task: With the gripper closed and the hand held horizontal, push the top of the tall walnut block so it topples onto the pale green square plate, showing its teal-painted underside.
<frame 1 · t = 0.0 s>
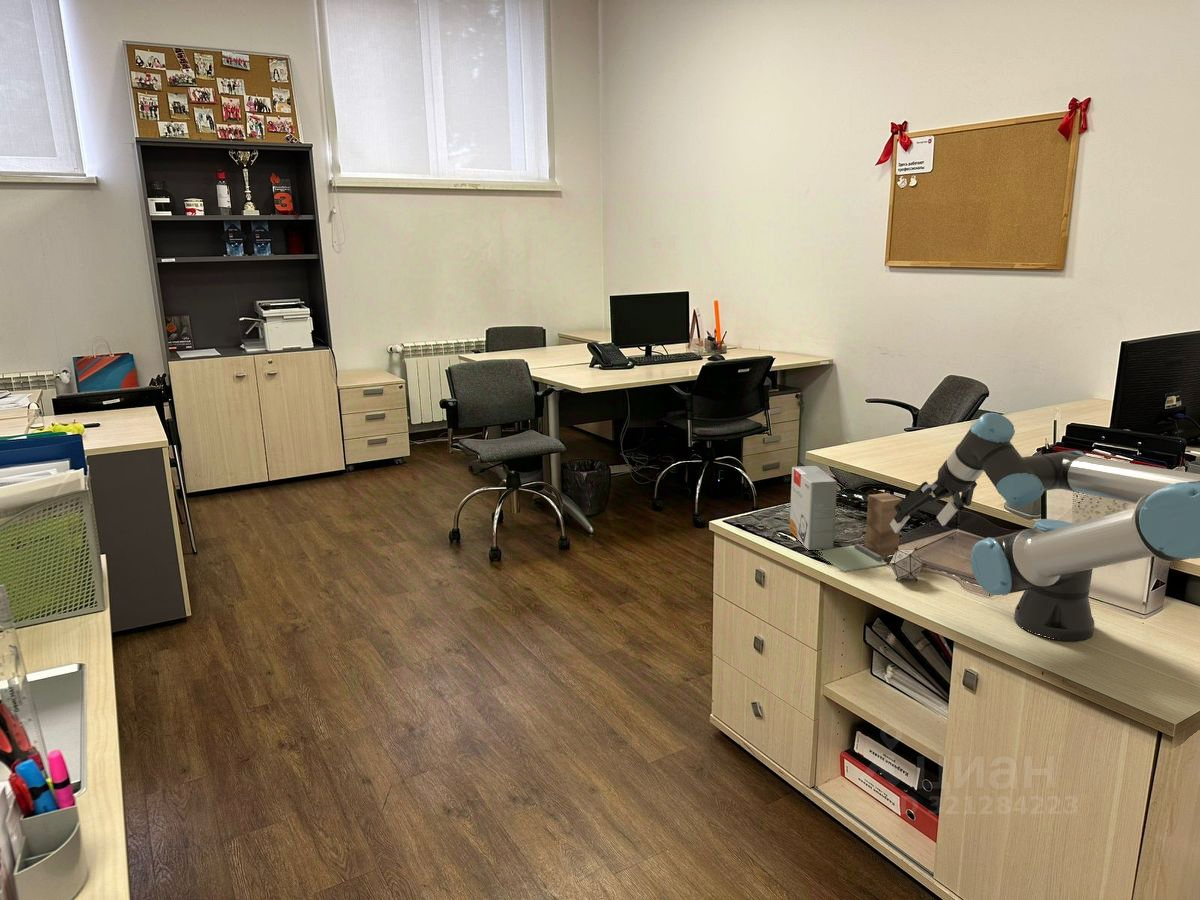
hand: (917, 524, 194), 15 cm above the table, tool tilted 35°, fingers open, 13 cm apart
walnut block: (881, 553, 217), on the table
pale green square plate: (849, 558, 214), on the table
game die: (905, 579, 201), on the table
hard drive box: (810, 541, 228), on the table
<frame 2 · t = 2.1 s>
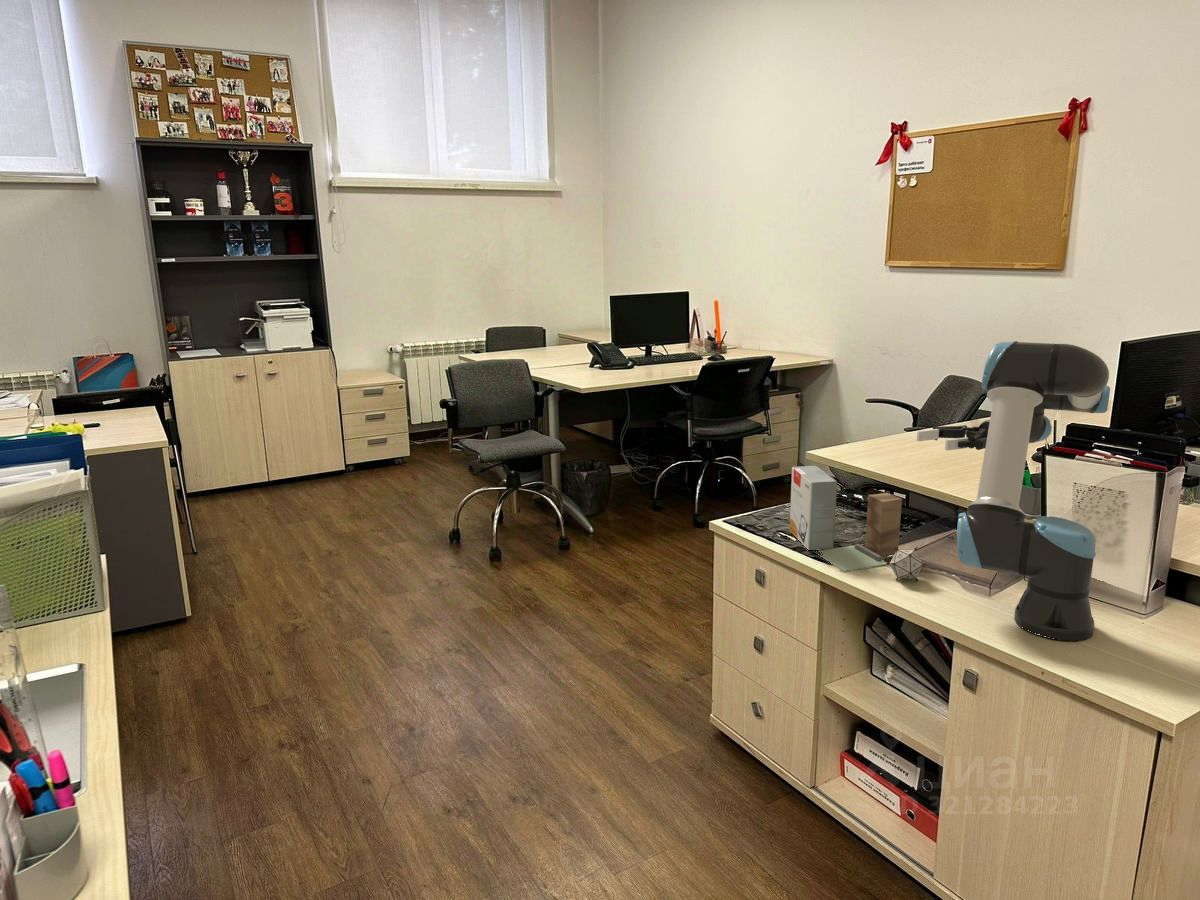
hand: (931, 440, 214), 30 cm above the table, tool horizontal, fingers open, 10 cm apart
nothing on the table moved.
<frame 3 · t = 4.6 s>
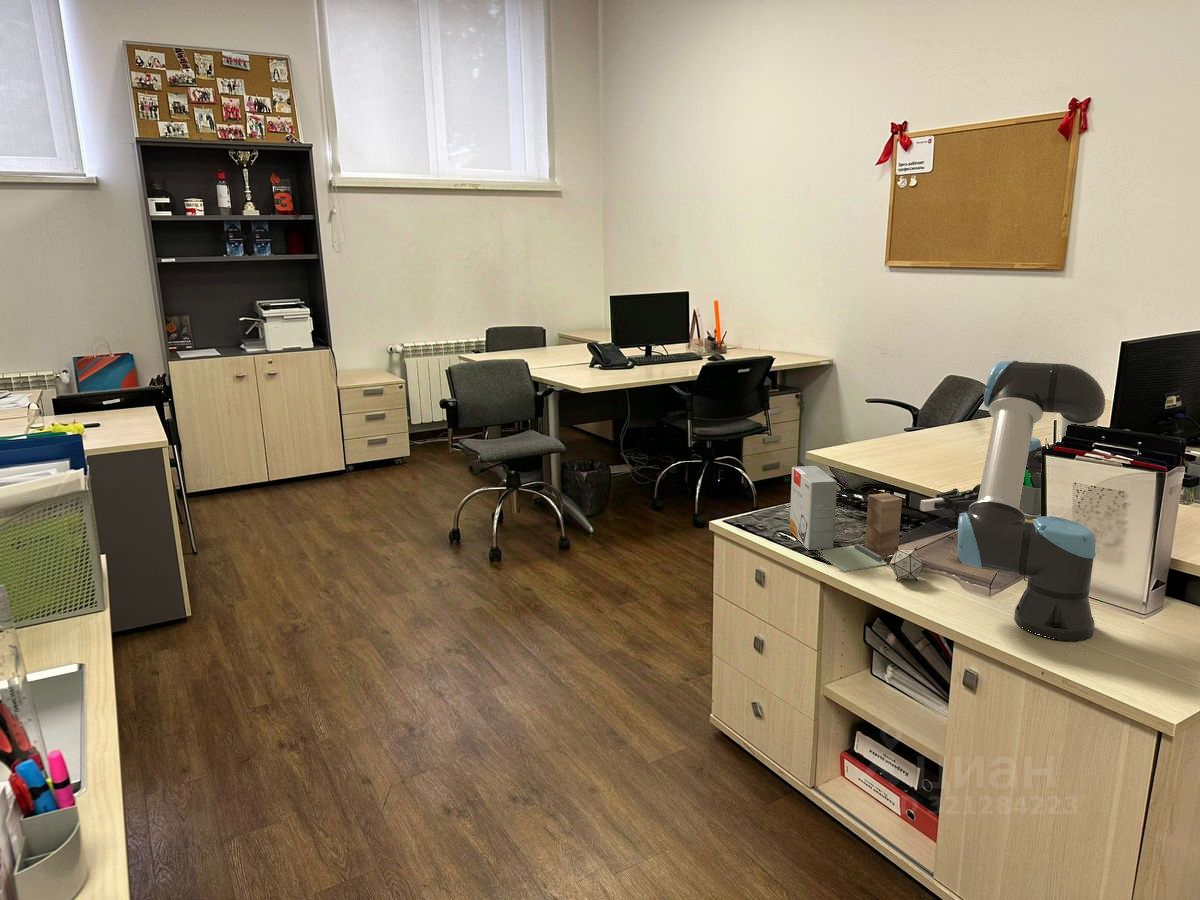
hand: (922, 505, 218), 12 cm above the table, tool horizontal, fingers closed
nothing on the table moved.
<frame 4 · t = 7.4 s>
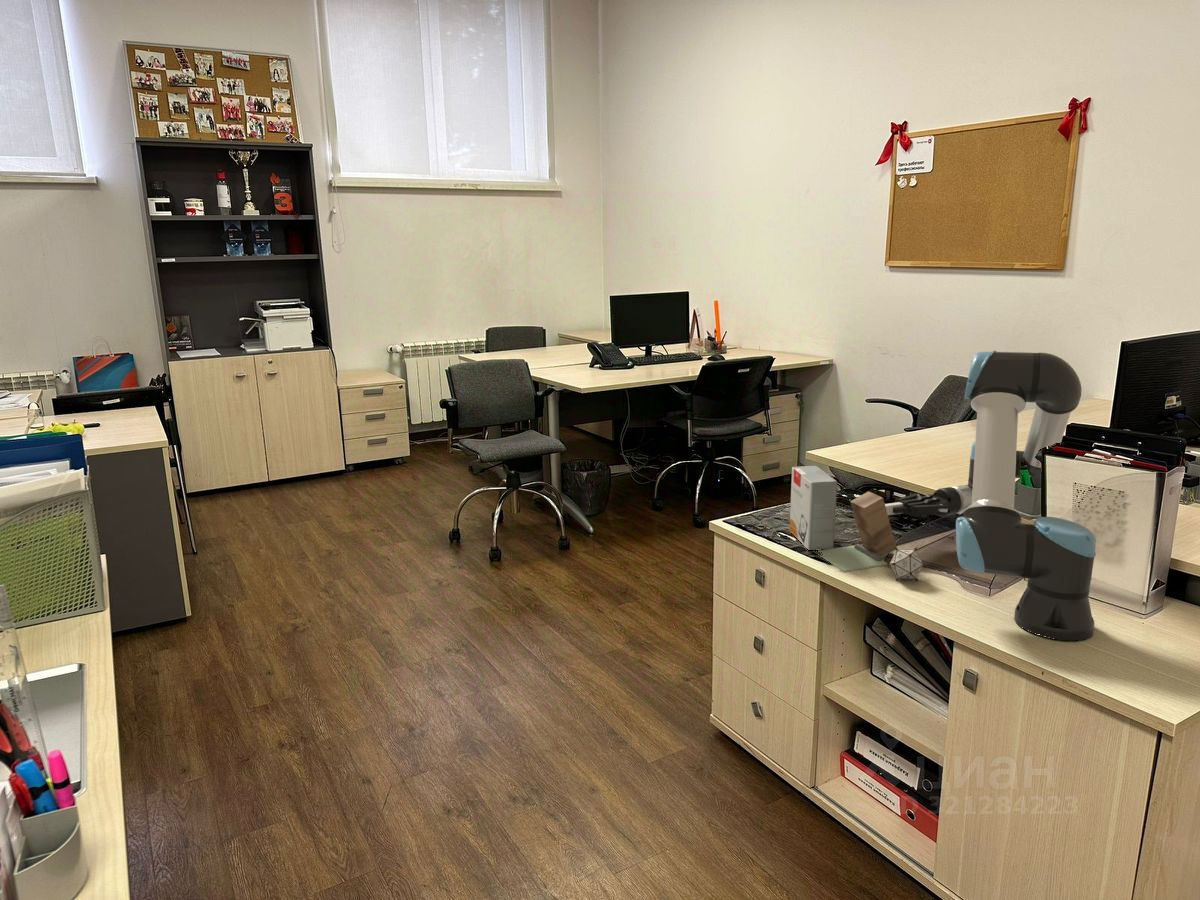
hand: (880, 510, 215), 12 cm above the table, tool horizontal, fingers closed
walnut block: (880, 550, 217), point 1 cm above the table, tilted 21°
everything else where it was.
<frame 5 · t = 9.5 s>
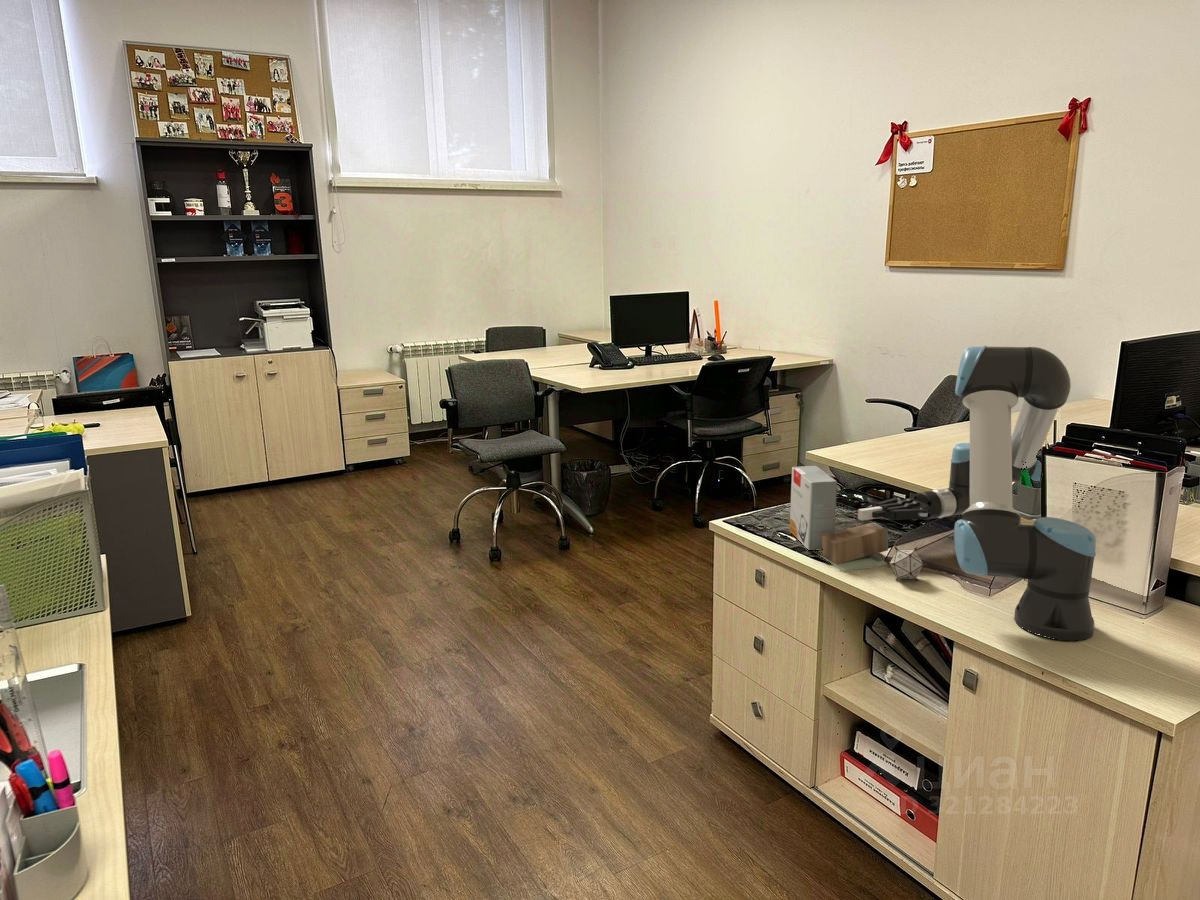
hand: (859, 514, 212), 12 cm above the table, tool horizontal, fingers closed
walnut block: (880, 536, 216), point 5 cm above the table, tilted 96°, touching pale green square plate
everything else where it was.
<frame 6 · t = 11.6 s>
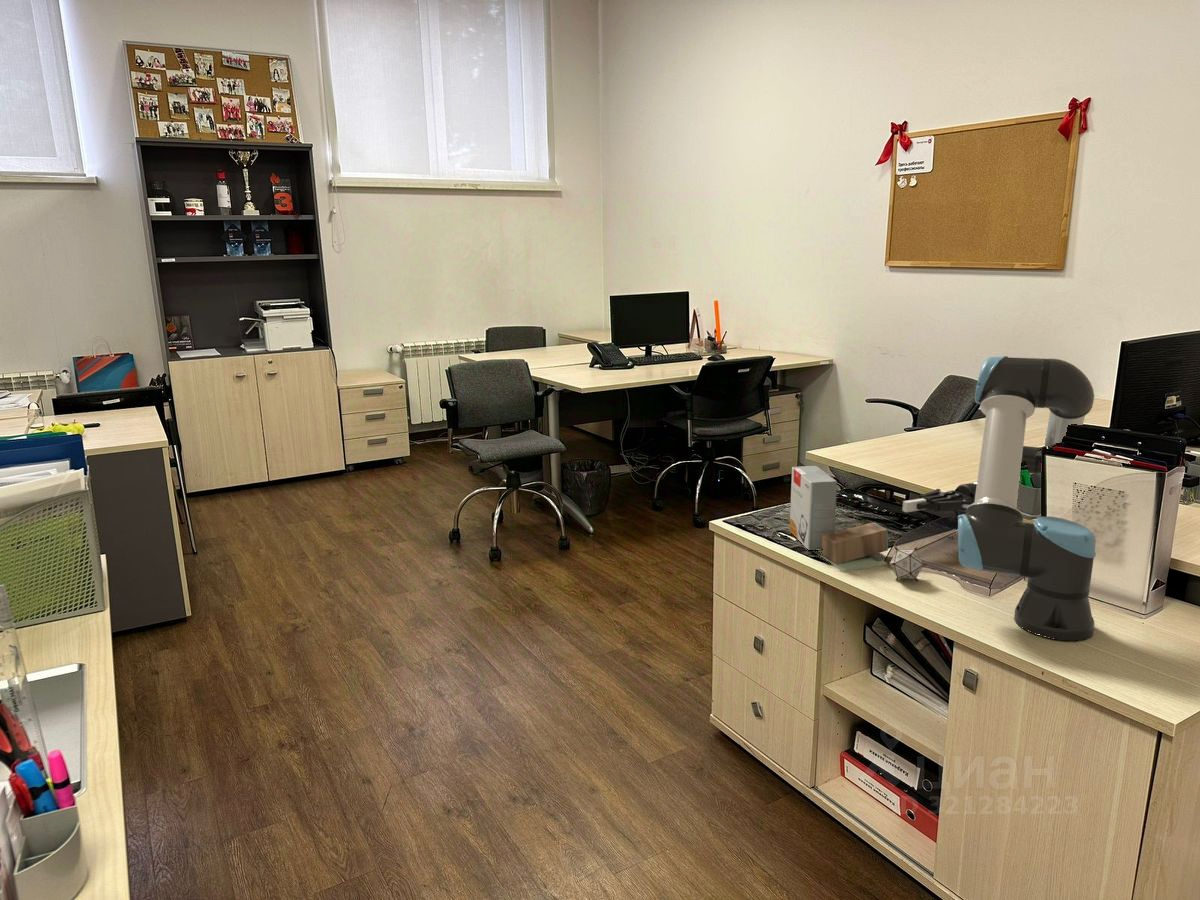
hand: (904, 506, 217), 12 cm above the table, tool horizontal, fingers closed
nothing on the table moved.
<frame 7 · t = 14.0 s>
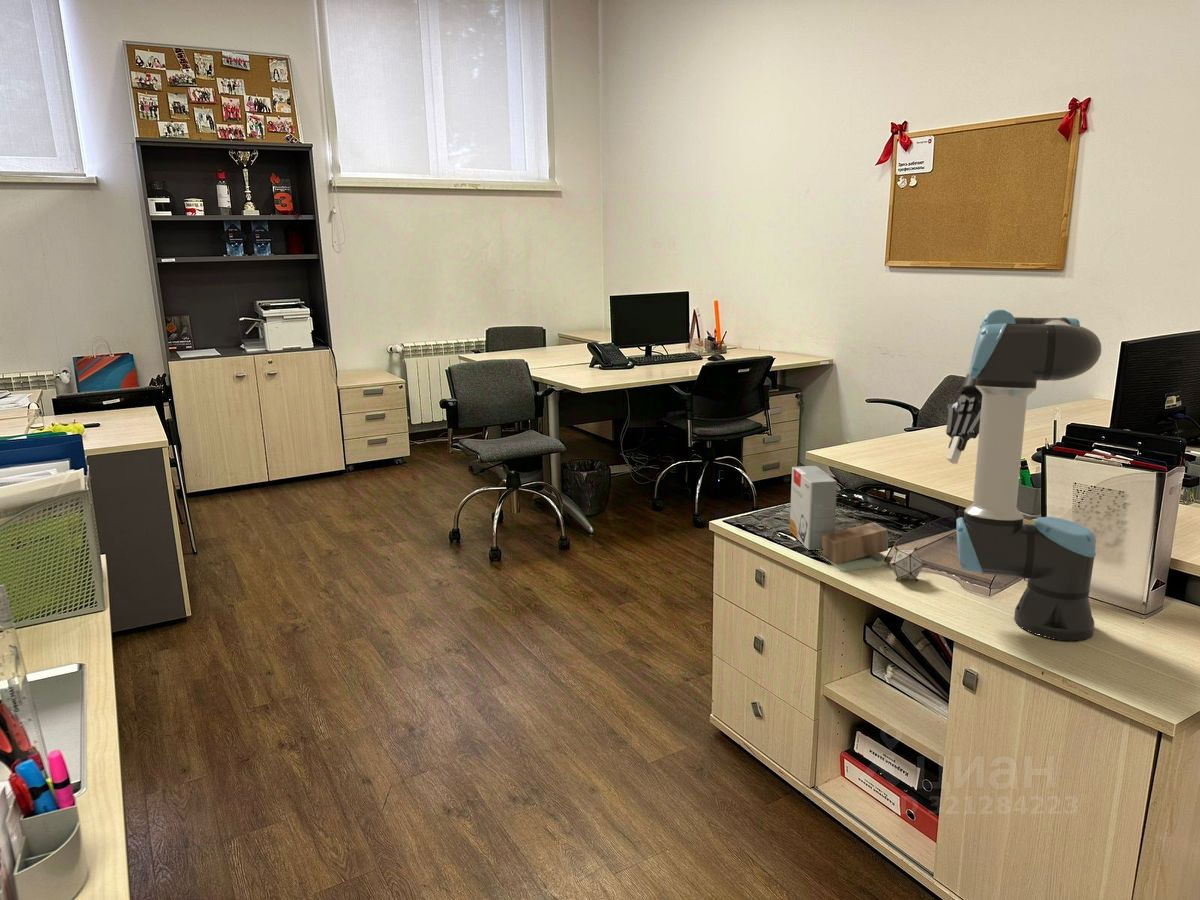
hand: (951, 461, 207), 27 cm above the table, tool tilted 40°, fingers closed
nothing on the table moved.
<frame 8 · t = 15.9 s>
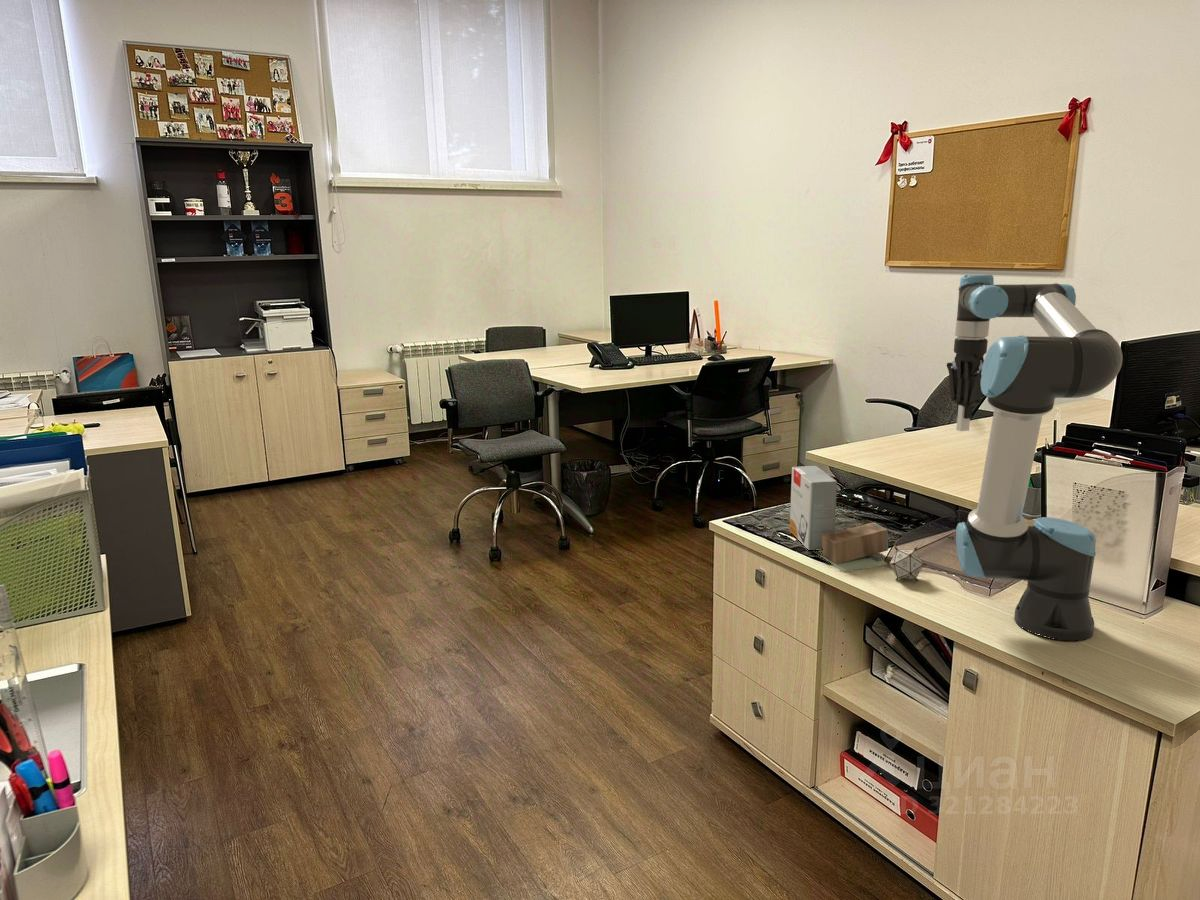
hand: (962, 430, 206), 34 cm above the table, tool pointing down, fingers closed
nothing on the table moved.
at the end: walnut block tilted 96°; walnut block inside the target area (4.5 cm from its centre), point 5.1 cm above the table; walnut block touching pale green square plate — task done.
